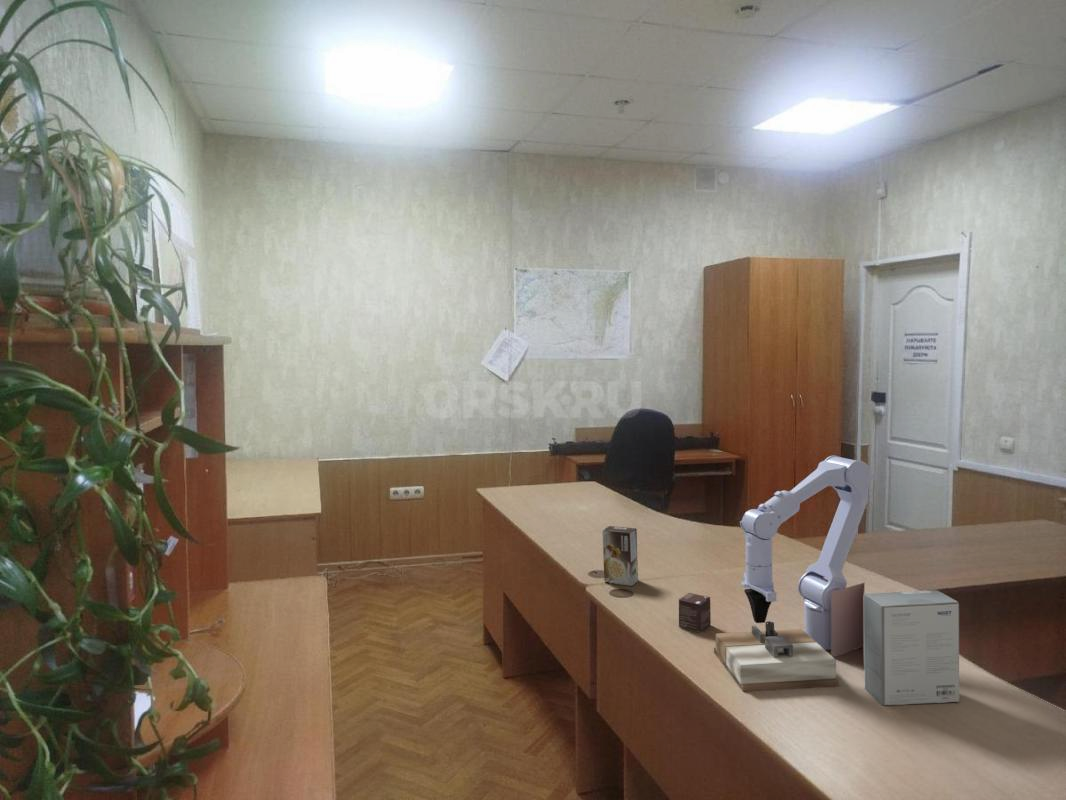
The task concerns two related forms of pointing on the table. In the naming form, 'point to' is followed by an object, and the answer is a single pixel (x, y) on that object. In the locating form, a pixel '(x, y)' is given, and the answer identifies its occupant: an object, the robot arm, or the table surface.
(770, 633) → the bolt
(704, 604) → the box
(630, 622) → the table surface
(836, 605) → the greeting card
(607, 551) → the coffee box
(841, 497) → the robot arm
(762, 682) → the wooden board with latch
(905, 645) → the hard drive box
